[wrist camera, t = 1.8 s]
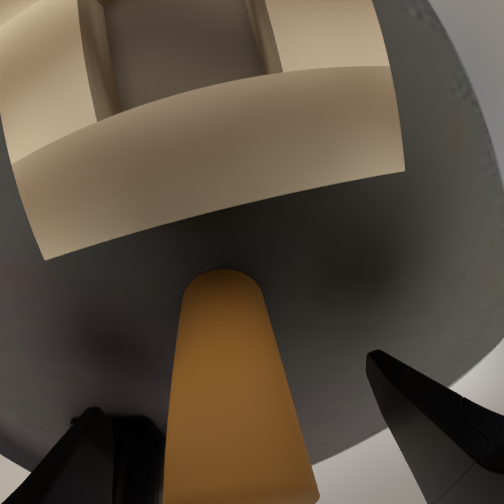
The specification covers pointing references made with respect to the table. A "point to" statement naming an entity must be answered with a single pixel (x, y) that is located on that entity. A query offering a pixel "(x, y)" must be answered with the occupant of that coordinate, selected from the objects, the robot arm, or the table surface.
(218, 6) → the socket block
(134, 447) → the robot arm
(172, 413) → the peg
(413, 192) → the table surface
